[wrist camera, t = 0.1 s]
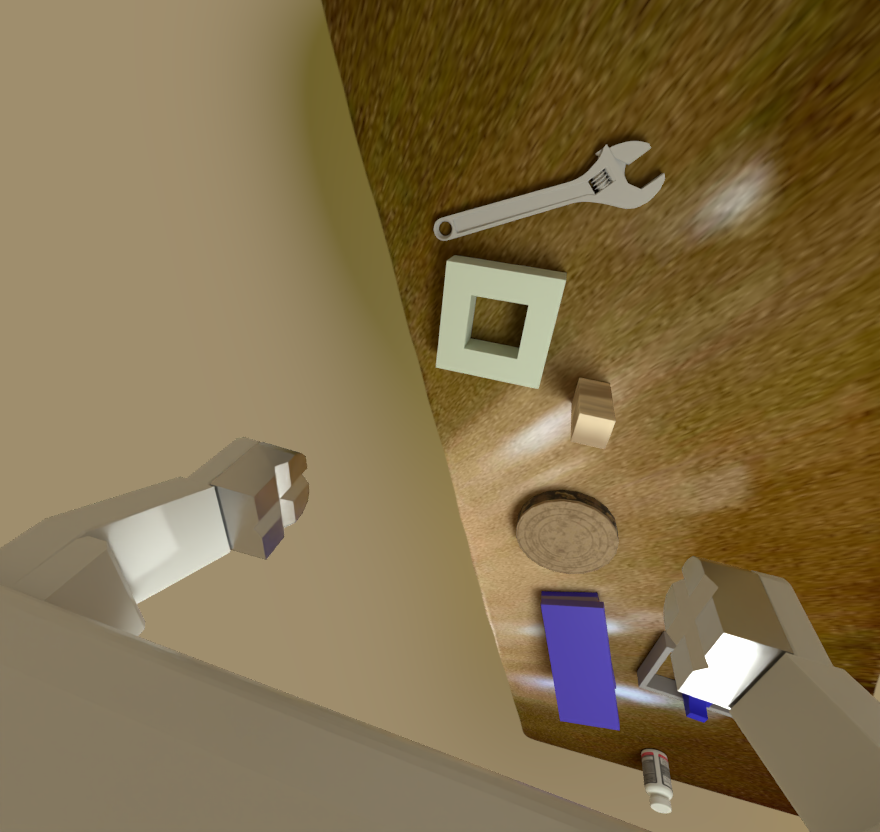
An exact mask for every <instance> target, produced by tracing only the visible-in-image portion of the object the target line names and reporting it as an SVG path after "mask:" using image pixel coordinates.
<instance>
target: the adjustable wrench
mask: <svg viewBox="0 0 880 832" xmlns="http://www.w3.org/2000/svg"><path fill="white" fill-rule="evenodd" d="M650 148H651V147H650V144H649V143H646V142H641V141H628V142H624V143H620V144H617V145H615V146H612V147H610V148H609V147H608V145H607V144H606V145H605V146H604V148H602V149H601V150H600V151H598V152H597V153H596V156H598V160H597V161H596V163H595V164H594V165H593V166H592V167H591V168H590V169H589V170H588V171H587V172H586V173H585V174H584V175H582V176H581V177H579V178H577V179H575V180H572V181H570V182H566V183H563V184H559V185H556V186H552V187H549V188H545V189H542V190H538V191H534V192H531V193H527V194H524V195H520V196H517V197H513V198H510V199H506V200H503V201H499V202H495V203H492V204H488V205H485V206H481V207H478V208H474V209H471V210H467V211H463V212H460V213H456V214H453V215H449V216H446V217H442V218H440V219H438V220H437V221H436V222H435V225H434V233H435V236H436V237H437V238H438V239H440V240H442V241H447V240H450V239H454V238H457V237H460V236H464V235H467V234H470V233H474V232H477V231H480V230H484V229H487V228H491V227H494V226H497V225H501V224H504V223H507V222H511V221H514V220H517V219H521V218H524V217H527V216H531V215H534V214H538V213H541V212H544V211H548V210H551V209H554V208H558V207H561V206H564V205H568V204H571V203H576V202H596V203H603V204H608V205H612V206H616V207H620V208H624V209H630V208H636V207H639V206H641V205H643V204H645V203H647V202H648V201H650V200H651V199H652V198H653V197H654V196H655V195H656V194H657V192H658V191H659V190H660V189H661V187H662V184H663V182H664V180H665V175H664V173H662V174H660V175H659V176H658V177H656V178H655V179H653V180H652V181H651V182H649V183H648V184H646V185H645V186H643V187H642V188H641V189H640V188H637V187H635V186H633V185H631V184H628V182H627V180H626V178H625V176H624V171H625V165H626V164H628V165H629V164H630V163H632V162H633V161H634V160H636V159H637V158H638V157H640V156H641V155H642V154H644V153H645V152H646V151H648V150H649V149H650ZM603 169H604V170H603ZM604 172H605V173H606V174H604ZM606 176H607V177H606ZM591 178H593V181H592V182H591V183H593V182H595V184H594V185H593V187H594V186H597V187H596V188H595V190H596V189H598V190H599V191H598V192H597V193H596V194H595V193H594V191H593V190H592V188H591V186H590V184H589V183H588V181H589V180H590V179H591ZM608 179H609V181H608ZM610 182H611V183H610ZM444 221H446V222H449V223H450V224H451V227H452V231H451V233H450V234H449V235H448V236H443V235H442V234H441V233H440V231H439V226H440V224H441V223H442V222H444Z"/></svg>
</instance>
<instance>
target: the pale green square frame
mask: <svg viewBox="0 0 880 832" xmlns="http://www.w3.org/2000/svg"><path fill="white" fill-rule="evenodd" d="M566 275H567V273H565V272H558V271H552V270H546V269H540V268H533V267H527V266H521V265H515V264H508V263H502V262H496V261H490V260H483V259H477V258H471V257H465V256H458V255H454V256H453V257H451V258H450V259H448V260H447V263H446V272H445V282H444V292H443V302H442V312H441V322H440V332H439V341H438V351H437V361H436V367H437V368H442V369H446V370H451V371H456V372H460V373H465V374H470V375H475V376H479V377H484V378H489V379H493V380H498V381H503V382H508V383H512V384H517V385H522V386H526V387H531V388H536V389H539V385H540V381H541V377H542V373H543V369H544V365H545V361H546V357H547V353H548V349H549V345H550V342H551V338H552V334H553V330H554V326H555V322H556V318H557V314H558V310H559V306H560V302H561V298H562V294H563V290H564V286H565V282H566ZM476 296H479V297H485V298H490V299H496V300H502V301H507V302H513V303H519V304H524V305H529V306H528V310H527V315H526V320H525V324H524V329H523V334H522V339H521V343H520V348H518V347H513V346H508V345H503V344H498V343H493V342H487V341H482V340H477V339H472V338H471V331H472V324H473V317H474V310H475V303H476Z"/></svg>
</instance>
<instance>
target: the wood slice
mask: <svg viewBox="0 0 880 832" xmlns="http://www.w3.org/2000/svg"><path fill="white" fill-rule="evenodd" d="M516 538H517V541H518V543H519V546H520V548H521V549H522V551H523V552H524V553H525V554H526V556H527V557H528V558H530V559H531V560H532V561H534V562H535V563H537V564H538V565H539V566H542V567H544V568H547V569H549V570H552V571H555V572H560V573H566V574H584V573H588V572H591V571H595V570H598V569H600V568H601V567H603V566H605V565H606V564H608V563H609V562H610V561H611V560H612V558H613V557H614V556H615V554H616V552H617V548H618V543H619V540H618V531H617V526H616V522H615V518H614V517H613V515H612V514H611V513H610V511H609V510H608V508H607V507H606V506H604V505H603V504H602V503H600V502H599V501H598V500H596V499H595V498H593V497H590V496H588V495H585V494H582V493H580V492H574V491H567V490H557V491H548V492H545V493H542V494H540V495H537V496H534V497H533V498H532V499H530V500H529V501H528V502H527V503H526V504H524V506H523V507H522V509H521V511H520V513H519V515H518V521H517V529H516Z"/></svg>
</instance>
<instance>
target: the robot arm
mask: <svg viewBox="0 0 880 832" xmlns="http://www.w3.org/2000/svg"><path fill="white" fill-rule="evenodd" d="M306 469H307V463H306V456H304V455H303V454H302V453H299V452H296V451H292V450H289V449H285V448H282V447H278V446H275V445H272V444H268V443H265V442H259V441H256V440H253V439H249V438H246V437H242V438H237V439H236V440H234V441H233V442H232V443H231V444H229V445H228V446H227V447H225V448H224V449H223V450H222V451H220V452H219V453H218V454H217V455H215V456H214V457H213V458H212V459H210V460H209V461H208V462H206V463H205V464H204V465H203V466H201V467H200V468H199V469H198V470H196V471H195V472H194V473H193V474H191V475H190V476H189V477H188V478H183V477H178V478H174V479H171V480H168V481H165V482H161V483H158V484H155V485H152V486H149V487H146V488H142V489H139V490H136V491H132V492H129V493H126V494H123V495H120V496H116V497H113V498H110V499H107V500H103V501H100V502H97V503H94V504H91V505H88V506H84V507H81V508H78V509H74V510H71V511H68V512H65V513H62V514H58V515H55V516H52V517H49V518H45V519H44V520H42V521H41V522H39V523H38V524H36V525H35V526H33V527H32V528H30V529H28V530H27V531H25V532H24V533H22V534H21V535H20V536H18V537H17V538H15V539H13V540H12V541H10V542H9V543H7V544H6V545H4V546H3V547H1V548H0V832H651V831H648V830H646V829H643V828H640V827H638V826H635V825H632V824H630V823H627V822H625V821H622V820H619V819H617V818H614V817H612V816H609V815H606V814H604V813H601V812H598V811H596V810H593V809H590V808H588V807H585V806H583V805H580V804H577V803H575V802H572V801H570V800H567V799H564V798H562V797H559V796H556V795H554V794H551V793H549V792H546V791H543V790H540V789H538V788H535V787H533V786H530V785H527V784H525V783H522V782H520V781H517V780H514V779H512V778H509V777H506V776H504V775H501V774H499V773H496V772H493V771H491V770H488V769H485V768H482V767H480V766H477V765H475V764H472V763H470V762H467V761H464V760H462V759H459V758H457V757H454V756H451V755H449V754H446V753H443V752H441V751H438V750H436V749H433V748H430V747H428V746H425V745H422V744H420V743H417V742H414V741H412V740H409V739H406V738H404V737H401V736H399V735H396V734H393V733H391V732H388V731H386V730H383V729H380V728H378V727H375V726H372V725H370V724H367V723H365V722H362V721H359V720H357V719H354V718H351V717H349V716H346V715H344V714H341V713H338V712H336V711H333V710H330V709H328V708H325V707H322V706H320V705H317V704H315V703H312V702H309V701H307V700H304V699H301V698H299V697H296V696H294V695H291V694H288V693H286V692H283V691H280V690H278V689H275V688H272V687H270V686H267V685H265V684H262V683H259V682H257V681H254V680H252V679H249V678H246V677H244V676H241V675H238V674H235V673H233V672H230V671H228V670H225V669H223V668H220V667H217V666H214V665H212V664H209V663H207V662H204V661H202V660H199V659H196V658H194V657H191V656H188V655H185V654H183V653H180V652H178V651H175V650H172V649H170V648H167V647H164V646H162V645H159V644H156V643H154V642H152V641H149V640H146V639H144V638H141V637H138V635H139V634H140V633H141V632H142V631H143V630H144V629H145V620H144V618H143V616H142V614H141V612H140V610H139V608H138V606H137V604H138V603H139V602H141V601H143V600H145V599H147V598H148V597H150V596H152V595H154V594H156V593H157V592H159V591H161V590H163V589H164V588H166V587H168V586H170V585H172V584H173V583H175V582H177V581H179V580H181V579H183V578H184V577H186V576H188V575H190V574H191V573H193V572H195V571H197V570H199V569H201V568H202V567H204V566H206V565H208V564H209V563H211V562H213V561H215V560H217V559H219V558H220V557H222V556H224V555H226V554H227V553H229V552H230V550H234V551H237V552H241V553H244V554H248V555H251V556H255V557H258V558H262V559H267V558H268V556H269V555H270V554H271V553H272V551H273V550H274V549H275V548H276V546H277V545H278V544H279V543H280V541H281V540H282V539H283V538H284V527H286V526H289V525H291V524H293V523H295V522H296V521H297V520H298V518H299V517H300V516H301V514H302V513H303V511H304V509H305V507H306V504H307V502H308V496H309V483H308V482H307V480H306V479H305V477H304V476H303V475H302V473H303V472H304V471H305V470H306ZM682 572H683V575H684V579H683V580H680V581H678V582H675V583H673V584H672V586H671V587H670V589H669V591H668V593H667V595H666V599H665V604H664V623H665V629H666V633H667V634H668V635H669V637H670V638H671V639H672V640H673V642H674V643H675V644H676V645H677V646H676V647H675V649H674V650H673V652H672V653H671V660H672V665H673V670H674V675H675V680H676V685H677V690H678V691H679V692H682V693H684V694H687V695H690V696H693V697H696V698H699V699H702V700H705V701H707V702H710V703H713V704H716V705H719V706H722V707H725V708H728V709H730V710H729V713H730V714H731V716H732V717H733V719H734V720H735V722H736V723H737V725H738V726H739V727H740V729H741V730H742V732H743V733H744V735H745V736H746V738H747V739H748V741H749V742H750V744H751V745H752V747H753V748H754V750H755V751H756V753H757V754H758V756H759V757H760V759H761V760H762V761H763V763H764V764H765V766H766V767H767V769H768V770H769V772H770V773H771V775H772V776H773V778H774V779H775V781H776V782H777V784H778V785H779V787H780V788H781V790H782V791H783V793H784V794H785V795H786V797H787V798H788V800H789V801H790V803H791V804H792V806H793V807H794V809H795V810H796V812H797V813H798V815H799V816H800V818H801V819H802V821H803V822H804V824H805V825H806V827H807V828H808V829H809V831H810V832H880V703H879V702H878V701H877V700H876V699H875V698H874V697H873V696H872V695H871V694H870V693H869V692H868V691H867V690H865V689H864V688H863V687H862V686H861V685H860V684H859V683H858V682H857V681H856V680H855V679H853V678H852V677H851V676H850V675H849V674H848V673H847V672H846V671H845V670H843V669H840V668H837V667H833V665H832V663H831V661H830V659H829V657H828V655H827V654H826V652H825V650H824V648H823V646H822V644H821V642H820V640H819V638H818V636H817V634H816V632H815V631H814V629H813V627H812V625H811V623H810V621H809V619H808V617H807V615H806V613H805V611H804V609H803V608H802V606H801V604H800V602H799V600H798V598H797V596H796V594H795V592H794V590H793V588H792V586H791V585H790V584H789V583H788V582H787V581H786V580H785V579H784V578H780V577H776V576H772V575H768V574H764V573H760V572H756V571H749V570H747V569H743V568H739V567H735V566H731V565H727V564H723V563H719V562H715V561H711V560H708V559H704V558H700V557H696V556H692V557H691V558H689V559H688V560H687V561H686V563H685V564H684V566H683V567H682Z"/></svg>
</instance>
